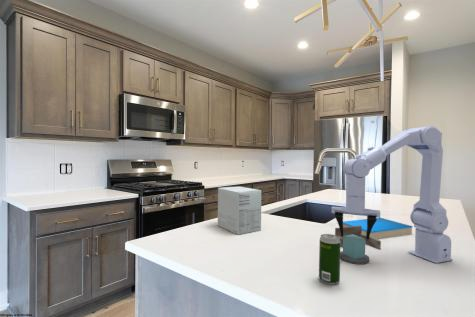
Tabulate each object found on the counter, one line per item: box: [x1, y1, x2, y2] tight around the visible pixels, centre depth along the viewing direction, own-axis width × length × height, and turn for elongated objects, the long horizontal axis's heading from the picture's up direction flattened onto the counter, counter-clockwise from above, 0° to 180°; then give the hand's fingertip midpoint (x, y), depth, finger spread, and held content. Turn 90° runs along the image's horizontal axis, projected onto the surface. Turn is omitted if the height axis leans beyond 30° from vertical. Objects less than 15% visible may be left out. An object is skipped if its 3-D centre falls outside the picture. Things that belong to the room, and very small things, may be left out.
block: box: [342, 234, 366, 259], centre depth 88 cm, size 5×4×6 cm
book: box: [343, 217, 414, 240], centre depth 119 cm, size 17×4×25 cm
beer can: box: [318, 233, 341, 286], centre depth 72 cm, size 5×5×12 cm
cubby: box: [334, 226, 382, 250], centre depth 99 cm, size 10×12×6 cm
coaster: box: [340, 250, 370, 265], centre depth 88 cm, size 9×9×1 cm
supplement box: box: [217, 186, 262, 235], centre depth 122 cm, size 17×13×18 cm
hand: (354, 236), depth 87 cm, fingers open, 7 cm apart
